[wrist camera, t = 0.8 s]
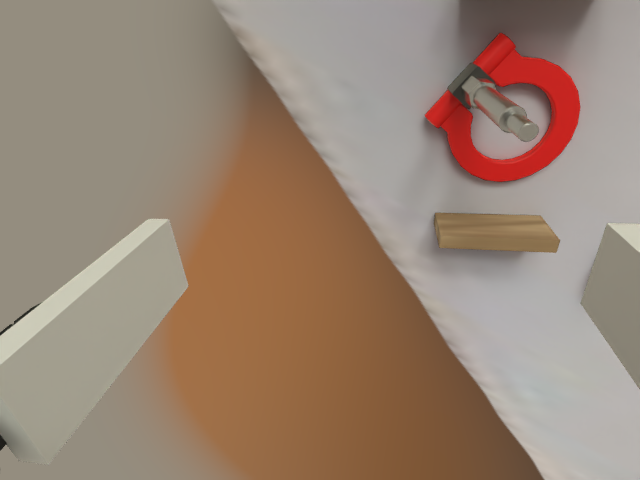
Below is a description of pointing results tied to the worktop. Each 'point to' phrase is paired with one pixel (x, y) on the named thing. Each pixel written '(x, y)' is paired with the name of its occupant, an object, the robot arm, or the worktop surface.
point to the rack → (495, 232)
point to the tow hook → (506, 110)
